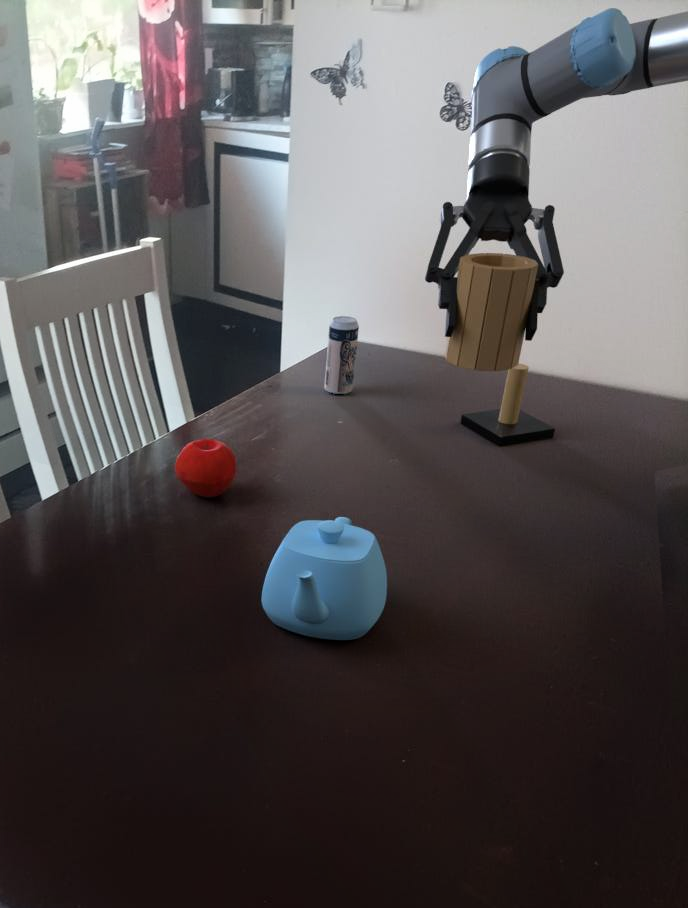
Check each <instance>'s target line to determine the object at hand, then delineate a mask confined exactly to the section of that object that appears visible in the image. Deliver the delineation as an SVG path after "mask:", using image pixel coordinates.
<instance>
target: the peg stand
mask: <svg viewBox="0 0 688 908" xmlns="http://www.w3.org/2000/svg"><path fill="white" fill-rule="evenodd" d="M529 369H530V367H529V365H527V364H523V363H518V365H517V366H515V367H513V368H512V369H508V370H507V375H506V380H505V386H504V389H503V390H504V391H503V395H502V400H501V404H500V408H497V409H489V410H483V411H476V412H469V413H462V414H461V417H460V422H459V423H460V424H461V425H462V426H464V427H466V428H467V429H469V430H470V431H472V432H474V433H476V434H477V435H478V436H481V437H482V438H484V439H485V440H487V441H489V442H490V443H492V444H495V445H496V446H498V447H503V446H509V445H516V444H522V443H528V442H534V441H540V440H546V439H553V438H554V435H555V431H556V428H555V427H553V426H552V425H550V424H547V423H546V422H544V421H542V420H540V419H538V418H536V417H534V416H532V415H531V414H529V413H528V412H525V411H523V410H521V406H522V400H523V396H524V391H525V387H526V382H527V378H528V372H529Z"/></svg>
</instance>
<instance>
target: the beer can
mask: <svg viewBox="0 0 688 908" xmlns="http://www.w3.org/2000/svg"><path fill="white" fill-rule="evenodd" d="M359 329H360V325H359V323H358V320H357V318H356V317H352V316H345V315H341V316H340V315H339V316H335V317H333V318H332V320H331V321H330V323H329V327H328V341H327V350H326V351H327V353H326V363H325V373H324V386H323V388H324V390H325V391H326V392H328V393H329V392H330V393H329V394H331V393H333V394H332V395H335V394H344V395H347V394H349V393H351V392H352V391H353V389H354V379H355V367H356V358H357V348H358V340H359V339H358V338H359Z"/></svg>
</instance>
